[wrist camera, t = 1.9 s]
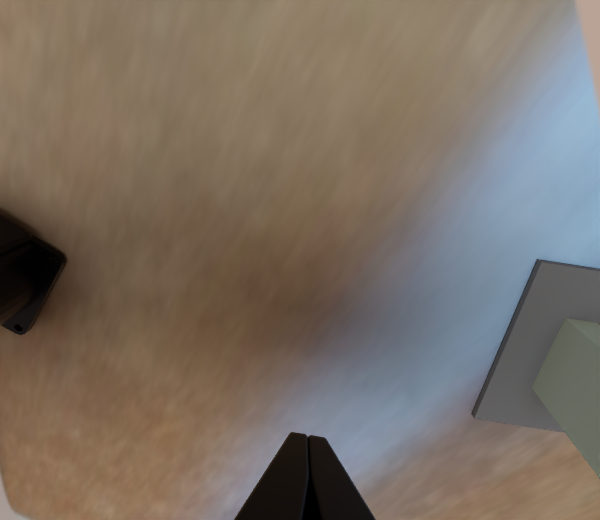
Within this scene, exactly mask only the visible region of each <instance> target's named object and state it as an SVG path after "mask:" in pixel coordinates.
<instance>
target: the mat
mask: <svg viewBox="0 0 600 520" xmlns="http://www.w3.org/2000/svg"><path fill="white" fill-rule="evenodd" d="M565 318H569V319H575V320H582V321H588V322H594V323H598V324H599V325H600V269H595V268H589V267H583V266H576V265H570V264H564V263H557V262H551V261H545V260H538V259H537V262H536V264H535V266H534V269H533V271H532V274H531V276H530V278H529V281H528V283H527V285H526V288H525V290H524V292H523V295H522V297H521V299H520V302H519V304H518V306H517V309H516V311H515V313H514V316H513V318H512V321H511V323H510V325H509V328H508V330H507V332H506V335H505V337H504V339H503V342H502V344H501V346H500V349H499V351H498V353H497V356H496V358H495V361H494V363H493V365H492V368H491V370H490V372H489V375H488V377H487V379H486V382H485V384H484V386H483V389H482V391H481V393H480V396H479V398H478V400H477V403H476V405H475V408H474V410H473V412H472V415H473V417H474V419H480V420H486V421H493V422H499V423H506V424H513V425H519V426H526V427H532V428H539V429H545V430H552V431H558V432H564V430H563V429H562V428H561V426H560V425H559V424H558V423H557V421H556V420H555V419H554V417H553V416H552V415H551V413H550V412H549V411H548V409H547V408H546V407H545V405H544V404H543V403H542V401H541V400H540V399H539V397H538V396H537V395H536V393H535V392H534V391H533V389H532V386H533V384H534V382H535V380H536V377H537V375H538V373H539V371H540V369H541V367H542V365H543V363H544V361H545V359H546V357H547V355H548V353H549V351H550V349H551V347H552V345H553V343H554V341H555V339H556V337H557V334H558V332H559V330H560V328H561V326H562V324H563V322H564V320H565Z"/></svg>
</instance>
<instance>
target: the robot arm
mask: <svg viewBox="0 0 600 520" xmlns="http://www.w3.org/2000/svg"><path fill="white" fill-rule="evenodd" d="M53 258H54V259H55V260H56V261H57V263H56V262H54V261H53ZM65 262H66V260H65V257H64V255H63V254H62V253H60V252H59V251H57V250H55V249H54V248H52V247H51V246H49V245H47V244H46V243H44V242H43V241H41V240H39V239H38V238H36V237H34V236H33V235H31V234H30V233H28V232H27V231H25V230H23V229H22V228H20V227H18V226H17V225H15V224H14V223H12V222H10V221H9V220H7V219H5V218H4V217H2V216H1V215H0V326H1V325H2V326H3V327H5V328H7V329H9V330H11V331H12V332H14V333H16V334H19V335H23V334H25V333H26V332H28V331H29V330H30V329H31V327H32V325H33V324H34V322H35V320H36V318H37V316H38V314H39V312H40V310H41V309H42V307H43V305H44V303H45V301H46V299H47V297H48V295H49V293H50V292H51V290H52V288H53V286H54V284H55V282H56V280H57V278H58V276H59V275H60V273H61V271H62V269H63V267H64V265H65ZM20 325H21V326H22V327H21V326H20ZM234 520H376V519H375V518H374V516H373V514H372V513H371V511H370V510H369V508H368V506H367V505H366V503H365V501H364V500H363V498H362V497H361V495H360V493H359V492H358V490H357V488H356V487H355V485H354V483H353V482H352V480H351V479H350V477H349V475H348V474H347V472H346V470H345V469H344V467H343V466H342V464H341V462H340V461H339V459H338V457H337V456H336V454H335V453H334V451H333V449H332V448H331V446H330V444H329V443H328V441H327V440H326V439H325V438H324V437H319V436H313V435H310V436H309V437H307V435H306V434H301V433H295V432H291V433H290V434H289V435H288V437H287V438H286V440H285V441H284V443H283V445H282V446H281V448H280V449H279V451H278V452H277V454H276V455H275V457H274V459H273V460H272V462H271V463H270V465H269V466H268V468H267V469H266V471H265V472H264V474H263V476H262V477H261V479H260V480H259V482H258V483H257V485H256V486H255V488H254V490H253V491H252V493H251V494H250V496H249V497H248V499H247V500H246V502H245V504H244V505H243V507H242V508H241V510H240V511H239V513H238V514H237V516H236V517H235V519H234Z"/></svg>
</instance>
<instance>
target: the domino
mask: <svg viewBox="0 0 600 520" xmlns="http://www.w3.org/2000/svg"><path fill="white" fill-rule="evenodd" d="M532 389H533V391H534V392H535V393H536V395H537V396H538V397H539V399H540V400H541V401H542V403H543V404H544V405H545V407H546V408H547V409H548V411H549V412H550V413H551V415H552V416H553V417H554V419H555V420H556V421H557V423H558V424H559V425H560V426H561V428H562V429H563V430H564V432H565V433H566V434H567V436H568V437H569V438H570V440H571V441H572V442H573V444H574V445H575V446H576V448H577V449H578V450H579V452H580V453H581V454H582V456H583V457H584V458H585V460H586V461H587V462H588V464H589V465H590V466H591V468H592V469H593V470H594V472H595V473H596V474H597V476H598V477H599V478H600V325H599V324H598V323H594V322H588V321H582V320H575V319H569V318H565V320H564V322H563V324H562V326H561V328H560V330H559V332H558V334H557V337H556V339H555V341H554V343H553V345H552V347H551V349H550V351H549V353H548V355H547V357H546V359H545V361H544V363H543V365H542V367H541V369H540V371H539V373H538V375H537V377H536V380H535V382H534V384H533V386H532Z"/></svg>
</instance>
